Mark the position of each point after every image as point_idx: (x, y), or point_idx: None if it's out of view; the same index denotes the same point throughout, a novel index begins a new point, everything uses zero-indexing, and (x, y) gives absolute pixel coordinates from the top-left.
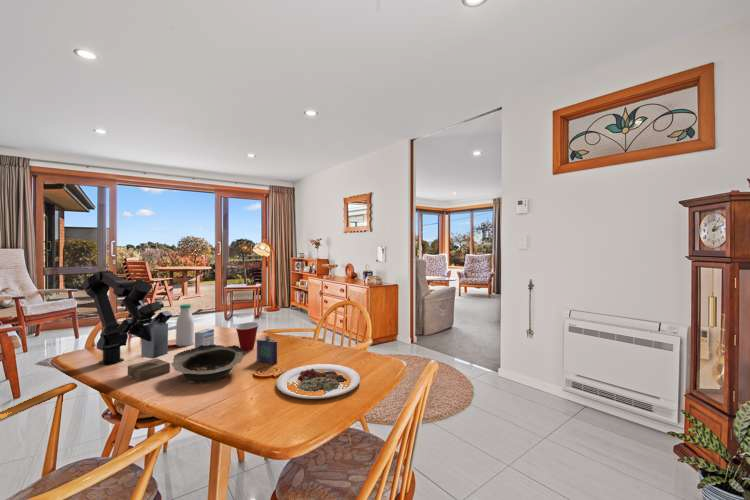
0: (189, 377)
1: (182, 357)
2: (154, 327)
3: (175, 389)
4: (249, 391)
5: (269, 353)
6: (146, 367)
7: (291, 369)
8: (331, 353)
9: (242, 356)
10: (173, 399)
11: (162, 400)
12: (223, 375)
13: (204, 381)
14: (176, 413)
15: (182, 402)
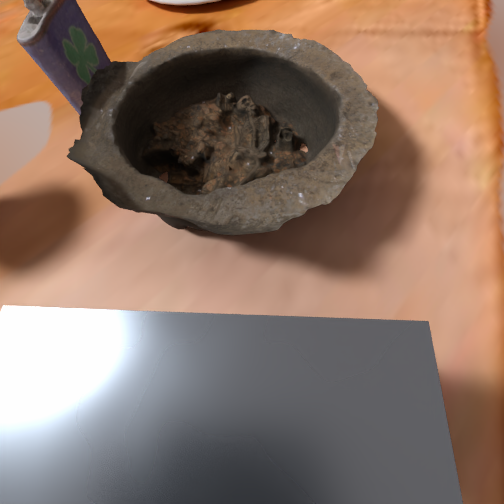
0: (326, 140)
1: (248, 210)
2: (405, 320)
3: (372, 168)
4: (300, 20)
5: (91, 50)
6: None
7: (172, 1)
8: None
9: (169, 45)
10: (428, 120)
11: (451, 139)
12: (257, 90)
13: (300, 122)
14: (478, 58)
15: (427, 89)
